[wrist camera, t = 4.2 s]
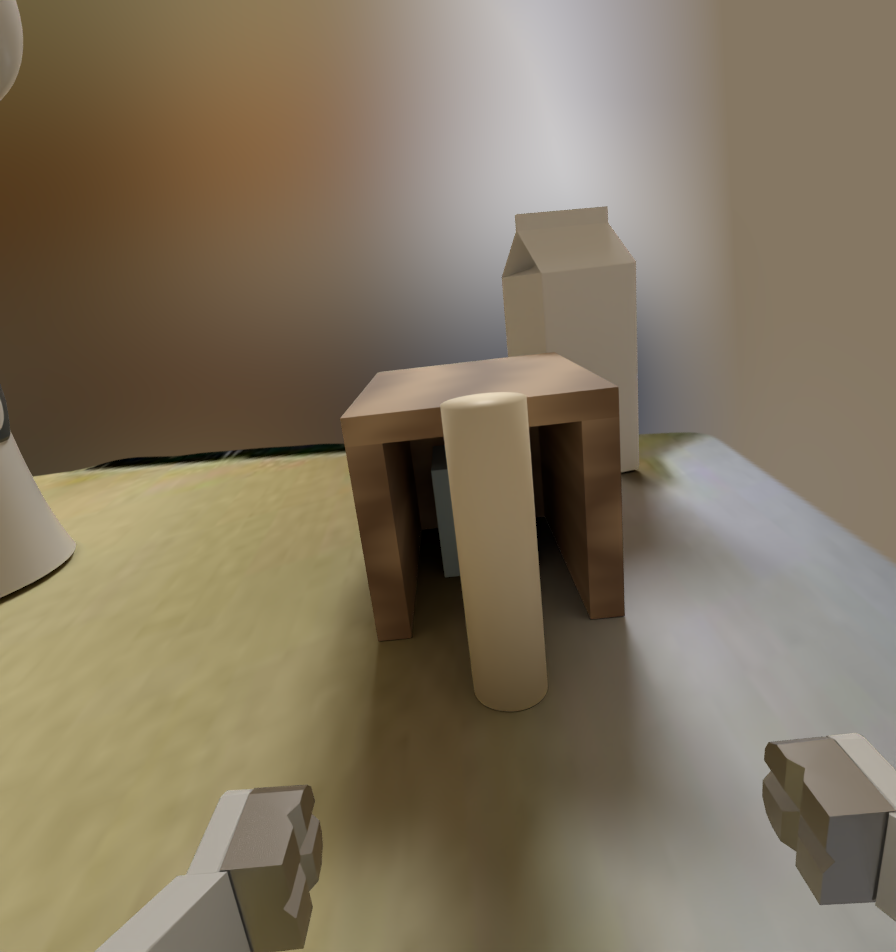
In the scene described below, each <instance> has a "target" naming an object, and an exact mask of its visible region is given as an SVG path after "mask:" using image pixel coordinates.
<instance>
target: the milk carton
mask: <svg viewBox="0 0 896 952" xmlns="http://www.w3.org/2000/svg"><path fill="white" fill-rule="evenodd" d="M607 213H608V210H607V207H595V208H584V209H572V210H561V211H550V212H538V213H527V214H517V215H515V223H516V234H515V236H514V240H513V243H512V246H511V249H510V253H509V256H508V259H507V262H506V266H505V269H504V272H503V275H502V286H503V297H504V298H503V299H504V311H505V322H506V323H505V324H506V336H507V348H508V357H515V356H524V355H533V354H541V353H550V352H555V353H557V354H559V355H561V356H563V357H564V358H566V359H568V360H570V361H572V362H574V363H576V364H577V365H579V366H581V367H583V368H585V369H587V370H588V371H590V372H592V373H594V374H596V375H598V376H600V377H601V378H603V379H605V380H607V381H609V382H611V383H613V384H614V385H616V386H618V387H619V419H620V457H621V472H626V471H630V470H635V469H638V468H639V436H638V378H637V376H638V375H637V315H636V261H635V260H634V258H633V257H632V256H631V254H630V253H629V251H628V250H627V249H626V247H625V246H624V244H623V243H622V241H621V240H620V239H619V237H618V236H617V235H616V233H615V232H614V230H613V229H612V228H611V226H610V225H609V223H608V214H607Z"/></svg>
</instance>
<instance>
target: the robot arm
mask: <svg viewBox="0 0 896 952" xmlns="http://www.w3.org/2000/svg"><path fill="white" fill-rule="evenodd" d="M22 53H23V31H22V24H21V19H20V14H19V10H18V6H17V3H16V0H0V100H1V99H2V98H3V97H4V96H5V95H6V94H7V92H8V91H9V90H10V88H11V87H12V85H13V83H14V81H15V79H16V77H17V74H18V72H19V68H20V65H21V60H22ZM75 548H76V543H75V541H74V540H73V539H72V538H71V536H70V535H69V534H68V533H67V531H66V530H65V529H64V527H63V526H62V525H61V523H60V522H59V520H58V519H57V517H56V516H55V514H54V513H53V511H52V510H51V508H50V507H49V505H48V503H47V502H46V500H45V498H44V497H43V495H42V493H41V492H40V490H39V488H38V486H37V484H36V482H35V481H34V479H33V477H32V475H31V473H30V471H29V469H28V467H27V465H26V463H25V461H24V460H23V457H22V455H21V453H20V451H19V449H18V447H17V445H16V442H15V440H14V438H13V436H12V434H11V431H10V424H9V418H8V411H7V405H6V400H5V396H4V394H3V391H2V388H1V385H0V598H1V597H3V596H5V595H8V594H10V593H12V592H14V591H16V590H18V589H20V588H22V587H24V586H26V585H28V584H30V583H32V582H34V581H36V580H38V579H39V578H41V577H43V576H45V575H46V574H48V573H49V572H51V571H53V570H54V569H56V568H57V567H58V566H60V565H61V564H62V563H64V562H65V561H66V560H67V559H68V558H69V557H70V556H71V555H72V554H73V552H74V551H75ZM764 761H765V762H766V764H767V765H768V767H769V768H770V770H771V771H770V773H769V774H768V775H767V776H766V777H765V778H764V780H763V789H762V797H763V801H764V805H765V810H766V814H767V816H768V818H769V821H770V823H771V825H772V828H773V829H774V831H775V833H776V834H777V836H778V838H779V839H780V841H781V842H783V843H784V844H786V845H787V846H789V847H790V848H792V849H793V850H795V851H796V865H795V866H796V867H797V869H798V871H799V872H800V874H801V875H802V877H803V879H804V880H805V882H806V883H807V885H808V887H809V888H810V890H811V892H812V893H813V895H814V896H815V898H816V900H817V901H818V903H819V905H831V904H850V903H869V902H876V903H875V905H876V906H877V907H878V908H879V909H881V910H882V911H883V912H884V913H886V914H887V915H888V916H889V917H891V918H892V919H893V920H894V921H896V770H895V769H894V768H893V767H892V766H891V765H890V764H889V763H888V762H887V761H886V760H885V759H884V757H883V756H882V755H881V754H880V753H879V752H878V751H877V750H876V749H875V748H874V747H873V746H872V745H871V744H870V743H869V742H868V741H867V740H866V739H865V738H864V737H863V736H861V735H859V734H857V733H850V734H841V735H831V736H826V737H813V738H803V739H793V740H783V741H774V742H768V744H767V746H766V748H765V755H764ZM314 803H315V799H314V795H313V792H312V788H311V786H309V785H296V786H280V787H265V788H254V789H244V790H227V791H226V792H225V793H224V794H223V795H222V796H221V798H220V799H219V802H218V804H217V806H216V808H215V810H214V813H213V815H212V817H211V819H210V822H209V824H208V826H207V828H206V831H205V833H204V835H203V837H202V840H201V842H200V844H199V846H198V849H197V851H196V853H195V855H194V858H193V860H192V862H191V864H190V866H189V869H188V871H187V873H186V875H181V876H177V877H175V878H174V879H173V880H172V881H171V882H170V883H169V884H168V885H167V886H166V887H165V888H163V889H162V890H161V891H160V892H159V893H158V894H157V895H156V896H155V897H154V898H153V899H151V900H150V901H149V902H148V903H147V904H146V905H145V906H144V907H143V908H142V909H140V910H139V911H138V912H137V913H136V914H135V915H134V916H133V917H132V918H131V919H130V920H128V921H127V922H126V923H125V924H124V925H123V926H122V927H121V928H120V929H119V930H117V931H116V932H115V933H114V934H113V935H112V936H111V937H110V938H109V939H108V940H107V941H105V942H104V943H103V944H102V945H101V946H100V947H99V948H98V949H97V950H96V951H95V952H277V951H286V950H294V949H303V948H304V945H305V940H306V936H307V931H308V926H309V922H310V917H311V913H312V908H313V906H312V902H311V897H310V893H309V891H310V890H311V889H312V888H313V887H314V885H315V884H316V883H317V882H318V880H319V875H320V870H321V865H322V850H323V841H322V830H321V826H320V821H319V820H318V819H317V818H316V817H315V816H314V815H312V811H313V807H314Z"/></svg>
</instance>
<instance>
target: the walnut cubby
mask: <svg viewBox="0 0 896 952" xmlns="http://www.w3.org/2000/svg"><path fill="white" fill-rule="evenodd" d="M493 392H514V393H521V394H524V395H526V397H527V411H528V424H529V438H530V451H531V465H532V478H533V492H534V505H535V517H544V516H545V519H546V521H547V523H548V525H549V528H550V530H551V532H552V534H553V536H554V539H555V541H556V543H557V545H558V548H559V550H560V552H561V554H562V557H563V559H564V561H565V563H566V565H567V568H568V570H569V572H570V574H571V577H572V579H573V581H574V583H575V585H576V588H577V590H578V592H579V594H580V597H581V599H582V601H583V603H584V605H585V608H586V610H587V612H588V614H589V617H590V619H599V618H609V617H618V616H625V610H624V572H623V534H622V495H621V457H620V419H619V387H618V386H616V385H614V384H613V383H611V382H609V381H607V380H605V379H603V378H601V377H600V376H598V375H596V374H594V373H592V372H590V371H588V370H587V369H585V368H583V367H581V366H579V365H577V364H576V363H574V362H572V361H570V360H568V359H566V358H564V357H563V356H561V355H559V354H557V353H555V352H550V353H541V354H533V355H524V356H515V357H507V358H498V359H489V360H481V361H472V362H463V363H455V364H447V365H437V366H429V367H420V368H412V369H403V370H394V371H385V372H378V373H377V374H376V376H375V377H374V378H373V379H372V380H371V382H370V383H369V384H368V385H367V386H366V388H365V389H364V390H363V391H362V392H361V394H360V395H359V396H358V397H357V399H356V400H355V401H354V402H353V403H352V405H351V406H350V407H349V408H348V410H347V411H346V412H345V413H344V414H343V416H342V417H341V418H340V420H341V426H342V431H343V437H344V443H345V449H346V455H347V461H348V467H349V473H350V478H351V484H352V490H353V496H354V502H355V508H356V513H357V519H358V525H359V531H360V537H361V543H362V549H363V554H364V560H365V566H366V572H367V578H368V584H369V589H370V595H371V601H372V607H373V613H374V619H375V625H376V630H377V636H378V641H385V640H395V639H404V638H412V628H413V617H414V607H415V596H416V585H417V574H418V564H419V553H420V542H421V531H422V530H424V529H433V528H438V520H437V512H436V505H435V497H434V489H433V481H432V473H431V467H432V453H433V446H440V445H445V442H444V434H443V425H442V417H441V409H440V405H441V403H443V402H445V401H447V400H450V399H453V398H457V397H462V396H467V395H473V394H481V393H493Z"/></svg>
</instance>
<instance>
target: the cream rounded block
mask: <svg viewBox="0 0 896 952" xmlns="http://www.w3.org/2000/svg"><path fill="white" fill-rule="evenodd" d="M440 409H441V417H442V425H443V434H444V442H445V445H440V446H433V453H432V467H431V473H432V481H433V489H434V497H435V505H436V512H437V520H438V528H439V536H440V544H441V552H442V559H443V567H444V575H445V577H454V576H460V577H461V585H462V594H463V602H464V611H465V619H466V628H467V636H468V644H469V653H470V661H471V670H472V678H473V687H474V693H475V696H476V697H477V699H478V700H479V701H480V702H481V703H482V704H483V705H485V706H487V707H489V708H491V709H494V710H498V711H505V712H513V711H520V710H525V709H528V708H530V707H532V706H534V705H536V704H538V703H539V702H540V701H541V700H542V699H543V698H544V697H545V695H546V693H547V690H548V681H547V667H546V654H545V640H544V627H543V613H542V600H541V586H540V573H539V559H538V546H537V532H536V519H535V505H534V492H533V478H532V465H531V451H530V438H529V424H528V411H527V397H526V395H524V394H521V393H514V392H493V393H481V394H473V395H467V396H462V397H457V398H453V399H450V400H447V401H445V402H443V403H441V405H440Z"/></svg>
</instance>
